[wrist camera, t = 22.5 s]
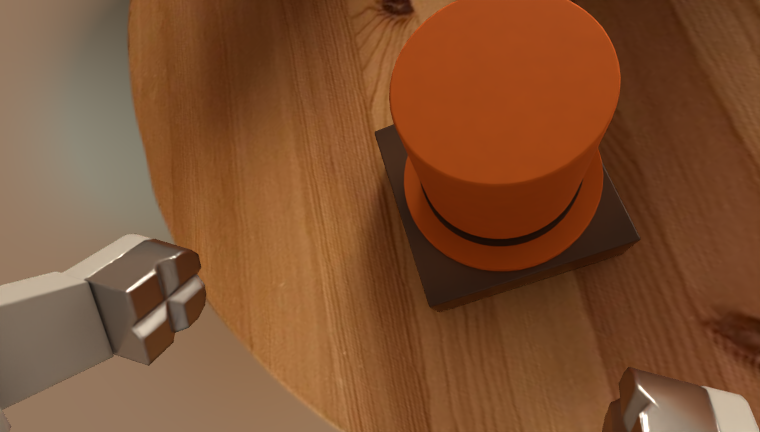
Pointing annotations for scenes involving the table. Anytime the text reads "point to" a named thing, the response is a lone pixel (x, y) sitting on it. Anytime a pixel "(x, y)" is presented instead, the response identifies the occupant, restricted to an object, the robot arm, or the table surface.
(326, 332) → the table surface
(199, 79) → the table surface
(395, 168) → the plinth
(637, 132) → the table surface
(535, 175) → the hat
